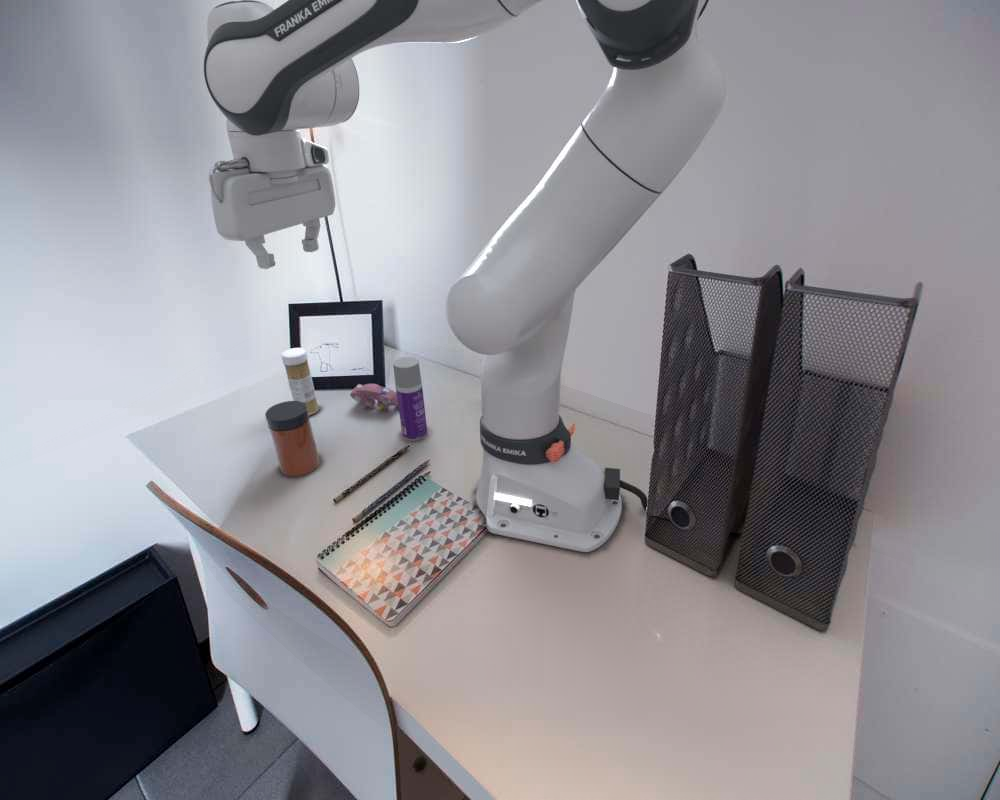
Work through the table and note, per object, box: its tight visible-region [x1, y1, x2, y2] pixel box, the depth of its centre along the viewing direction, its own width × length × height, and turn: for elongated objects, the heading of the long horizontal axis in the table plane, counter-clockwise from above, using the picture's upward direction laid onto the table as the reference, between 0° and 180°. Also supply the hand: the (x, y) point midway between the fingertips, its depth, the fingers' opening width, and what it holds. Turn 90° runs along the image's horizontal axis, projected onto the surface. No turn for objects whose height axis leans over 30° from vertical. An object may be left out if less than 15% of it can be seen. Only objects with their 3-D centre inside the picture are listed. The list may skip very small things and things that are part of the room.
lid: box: [264, 400, 310, 431], centre depth 87 cm, size 6×6×2 cm
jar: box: [268, 418, 321, 477], centre depth 89 cm, size 6×6×11 cm
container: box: [392, 356, 428, 442], centre depth 96 cm, size 5×5×15 cm
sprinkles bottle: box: [280, 347, 320, 417], centre depth 105 cm, size 5×5×14 cm
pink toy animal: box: [350, 383, 398, 410], centre depth 108 cm, size 10×5×7 cm
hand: (290, 258), depth 77 cm, fingers open, 8 cm apart
